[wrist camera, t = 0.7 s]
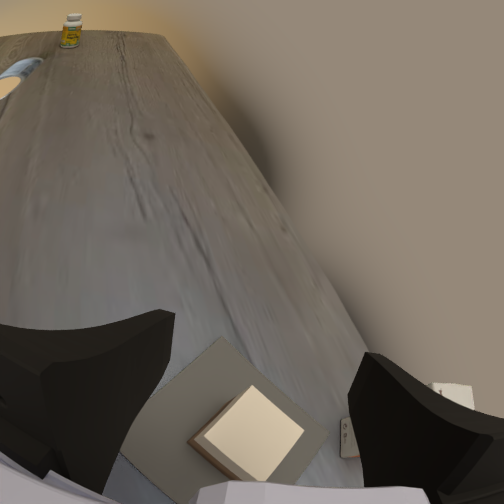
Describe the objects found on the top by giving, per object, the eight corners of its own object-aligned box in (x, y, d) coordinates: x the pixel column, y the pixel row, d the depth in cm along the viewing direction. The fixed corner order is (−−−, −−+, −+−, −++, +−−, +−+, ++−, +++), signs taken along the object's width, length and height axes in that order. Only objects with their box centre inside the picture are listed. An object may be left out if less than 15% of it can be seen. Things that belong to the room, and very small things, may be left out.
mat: (238, 546, 16) (240, 547, 16) (105, 435, 19) (105, 435, 19) (327, 433, 26) (330, 432, 25) (220, 337, 28) (221, 335, 28)
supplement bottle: (74, 42, 61) (80, 12, 55) (81, 47, 60) (87, 15, 53) (57, 45, 58) (62, 14, 51) (63, 49, 57) (69, 16, 50)
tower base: (232, 481, 20) (246, 482, 18) (186, 442, 21) (193, 439, 19) (269, 440, 23) (285, 435, 21) (226, 402, 24) (237, 394, 22)
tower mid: (246, 482, 18) (262, 484, 16) (193, 439, 19) (203, 435, 17) (285, 435, 21) (304, 430, 19) (237, 394, 22) (252, 384, 20)
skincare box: (339, 459, 24) (437, 434, 16) (339, 419, 27) (431, 379, 19) (384, 457, 25) (478, 428, 17) (383, 421, 28) (472, 383, 20)
